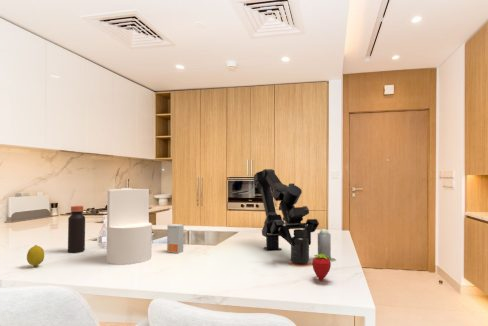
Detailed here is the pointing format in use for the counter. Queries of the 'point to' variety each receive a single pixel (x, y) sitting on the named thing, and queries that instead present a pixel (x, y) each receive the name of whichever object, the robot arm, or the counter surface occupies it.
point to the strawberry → (321, 266)
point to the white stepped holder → (128, 226)
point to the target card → (306, 263)
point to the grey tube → (324, 243)
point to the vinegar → (76, 230)
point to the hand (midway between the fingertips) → (301, 244)
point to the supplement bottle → (300, 247)
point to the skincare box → (175, 238)
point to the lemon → (35, 255)
